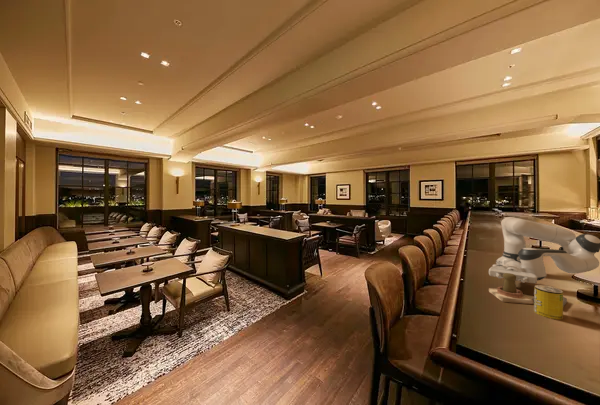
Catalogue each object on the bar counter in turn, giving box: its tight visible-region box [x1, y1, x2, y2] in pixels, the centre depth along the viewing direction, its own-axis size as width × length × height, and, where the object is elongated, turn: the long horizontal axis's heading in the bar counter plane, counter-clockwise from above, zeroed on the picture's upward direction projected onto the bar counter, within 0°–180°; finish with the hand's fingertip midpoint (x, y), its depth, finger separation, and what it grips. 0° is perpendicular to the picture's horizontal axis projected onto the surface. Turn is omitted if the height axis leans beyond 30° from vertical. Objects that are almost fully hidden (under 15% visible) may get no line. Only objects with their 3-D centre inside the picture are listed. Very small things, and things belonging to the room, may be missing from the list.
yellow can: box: [533, 284, 564, 321], centre depth 105 cm, size 9×9×12 cm
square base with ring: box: [488, 286, 534, 305], centre depth 122 cm, size 13×13×4 cm
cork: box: [503, 273, 517, 293], centre depth 122 cm, size 6×6×11 cm
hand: (510, 278), depth 125 cm, fingers open, 8 cm apart
